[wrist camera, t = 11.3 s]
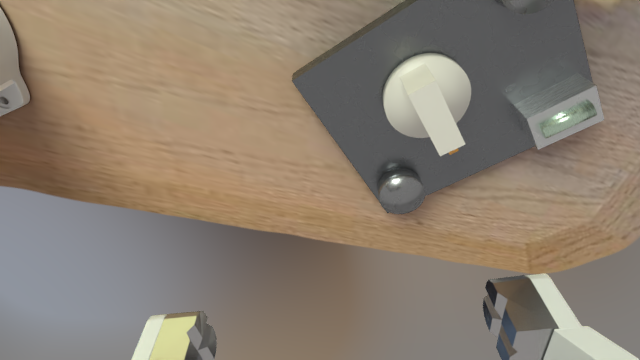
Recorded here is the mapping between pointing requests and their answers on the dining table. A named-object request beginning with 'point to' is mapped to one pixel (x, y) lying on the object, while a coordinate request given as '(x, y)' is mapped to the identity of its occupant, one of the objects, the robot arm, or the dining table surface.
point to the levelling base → (485, 79)
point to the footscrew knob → (428, 99)
